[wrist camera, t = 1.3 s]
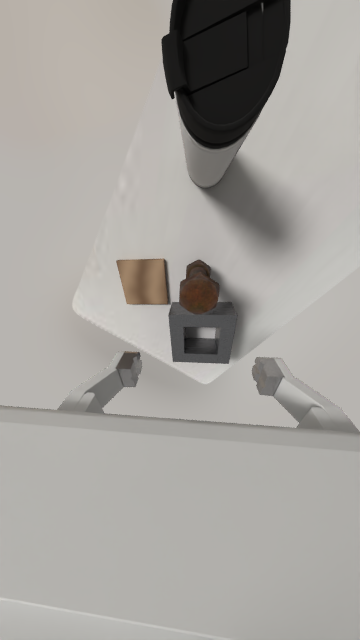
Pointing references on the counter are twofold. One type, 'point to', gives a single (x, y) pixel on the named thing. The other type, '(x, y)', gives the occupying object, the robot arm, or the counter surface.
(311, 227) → the counter surface
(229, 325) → the socket block
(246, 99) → the travel mug
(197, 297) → the bolt
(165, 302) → the walnut pad
